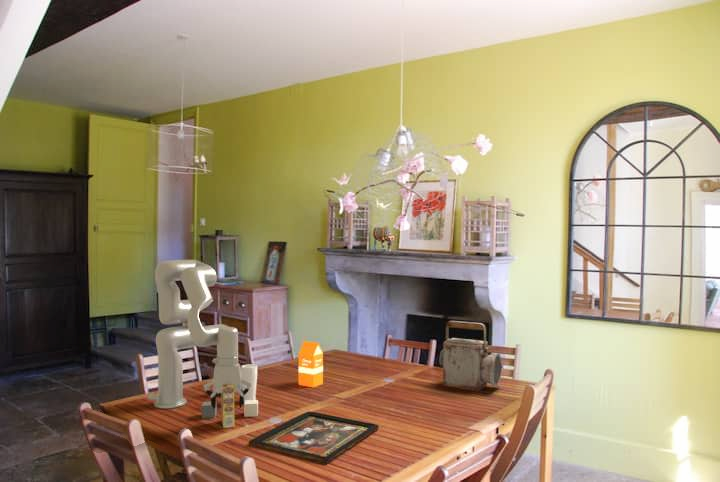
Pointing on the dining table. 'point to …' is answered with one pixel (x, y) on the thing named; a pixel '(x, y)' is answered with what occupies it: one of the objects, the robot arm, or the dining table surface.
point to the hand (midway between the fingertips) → (227, 407)
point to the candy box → (227, 406)
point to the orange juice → (310, 364)
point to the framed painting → (314, 436)
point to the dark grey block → (208, 410)
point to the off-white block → (250, 408)
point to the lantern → (469, 360)
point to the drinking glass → (249, 380)
